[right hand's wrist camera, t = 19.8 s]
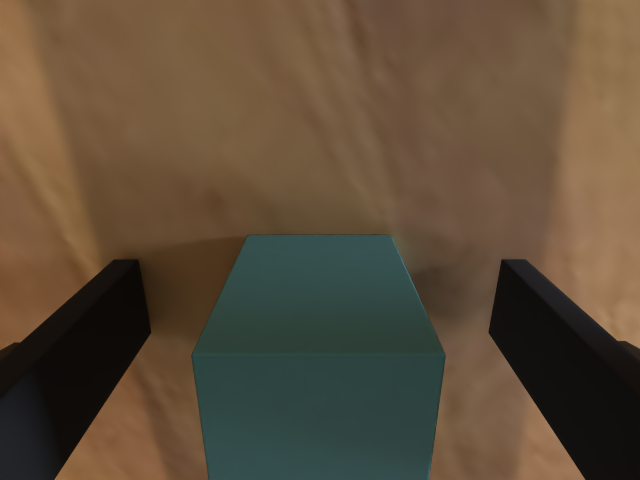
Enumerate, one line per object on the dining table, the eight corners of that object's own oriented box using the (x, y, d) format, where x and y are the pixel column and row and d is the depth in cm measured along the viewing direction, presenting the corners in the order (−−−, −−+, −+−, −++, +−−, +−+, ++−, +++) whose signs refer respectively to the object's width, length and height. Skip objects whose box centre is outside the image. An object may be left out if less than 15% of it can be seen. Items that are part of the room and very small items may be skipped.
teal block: (391, 234, 13) (447, 354, 7) (383, 354, 14) (423, 528, 9) (247, 233, 13) (190, 354, 7) (255, 353, 14) (213, 528, 9)
